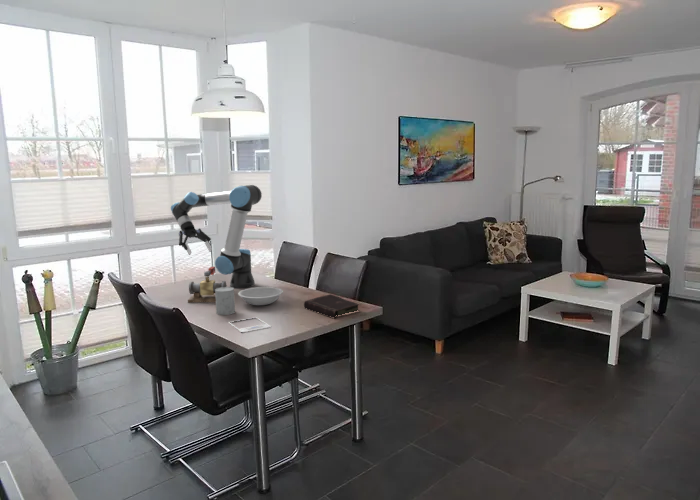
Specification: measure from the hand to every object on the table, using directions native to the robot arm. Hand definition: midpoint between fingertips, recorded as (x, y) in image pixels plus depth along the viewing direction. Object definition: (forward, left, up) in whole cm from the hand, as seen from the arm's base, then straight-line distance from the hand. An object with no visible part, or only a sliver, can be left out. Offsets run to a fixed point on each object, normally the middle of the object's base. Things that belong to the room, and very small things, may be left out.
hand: (200, 252), depth 304 cm
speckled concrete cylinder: (-23, +43, -24) cm, 54 cm away
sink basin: (-39, +28, -24) cm, 54 cm away
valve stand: (-8, +18, -24) cm, 31 cm away
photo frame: (-39, +65, -25) cm, 80 cm away
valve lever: (-8, +12, -12) cm, 18 cm away
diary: (-78, +42, -25) cm, 92 cm away
